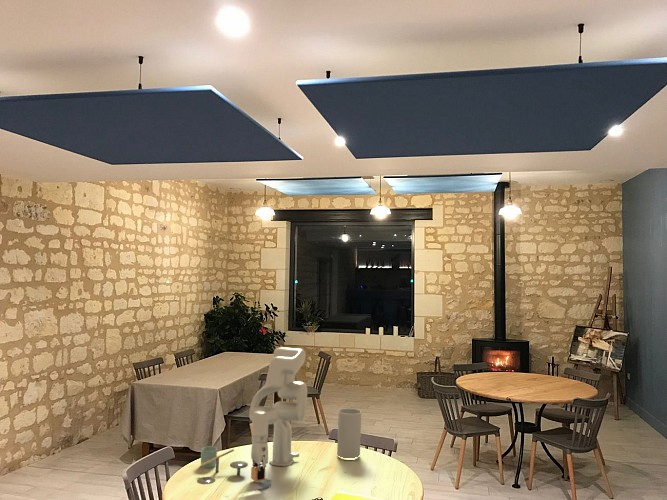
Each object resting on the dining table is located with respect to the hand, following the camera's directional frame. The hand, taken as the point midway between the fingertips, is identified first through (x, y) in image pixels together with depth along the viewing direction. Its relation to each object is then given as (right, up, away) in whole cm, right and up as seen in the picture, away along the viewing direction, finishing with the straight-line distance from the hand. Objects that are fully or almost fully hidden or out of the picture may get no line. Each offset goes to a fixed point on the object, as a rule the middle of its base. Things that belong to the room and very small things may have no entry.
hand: (258, 476), depth 248 cm
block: (0, -1, 0) cm, 1 cm away
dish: (0, -4, 0) cm, 4 cm away
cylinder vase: (+44, -8, +42) cm, 61 cm away
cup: (-28, -4, +18) cm, 33 cm away
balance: (-19, -3, +6) cm, 20 cm away
